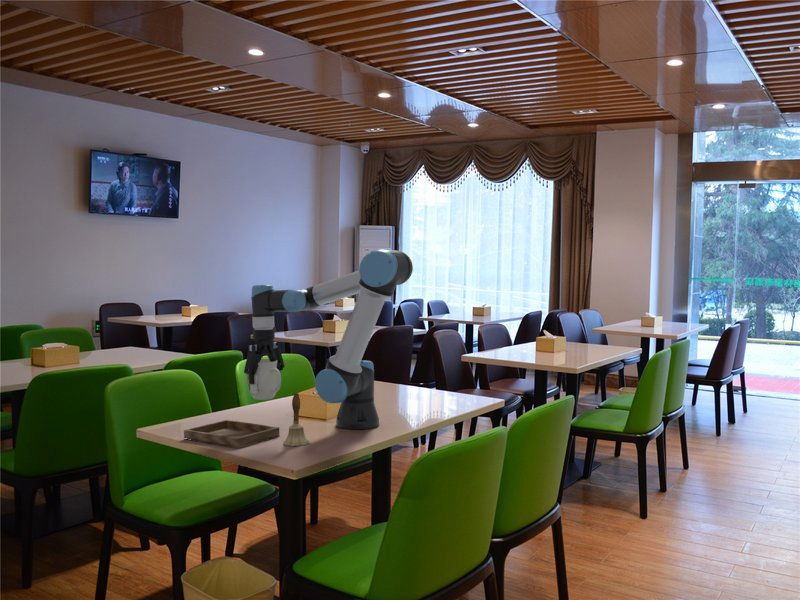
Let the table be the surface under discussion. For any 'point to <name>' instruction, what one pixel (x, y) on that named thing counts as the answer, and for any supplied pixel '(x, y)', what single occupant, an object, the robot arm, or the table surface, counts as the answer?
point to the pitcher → (266, 380)
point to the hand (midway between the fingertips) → (265, 391)
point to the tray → (232, 433)
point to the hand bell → (296, 427)
